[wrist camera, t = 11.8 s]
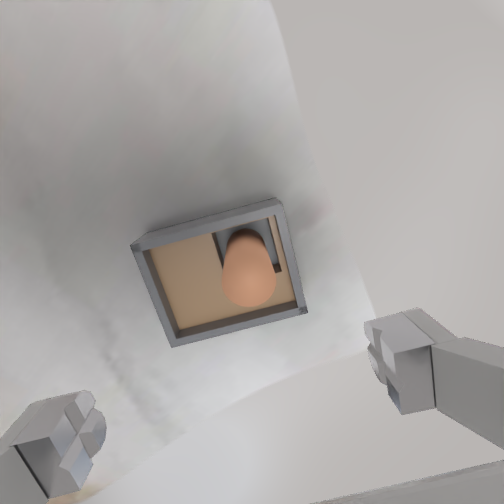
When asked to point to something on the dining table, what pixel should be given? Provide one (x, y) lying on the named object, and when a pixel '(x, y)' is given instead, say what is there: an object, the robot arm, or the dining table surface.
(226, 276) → the peg
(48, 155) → the dining table surface
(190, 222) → the bore box
